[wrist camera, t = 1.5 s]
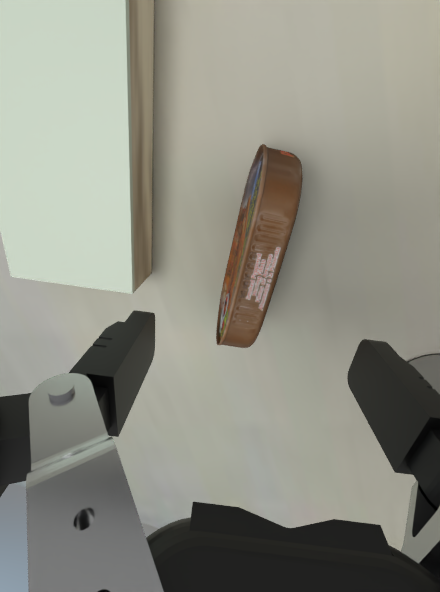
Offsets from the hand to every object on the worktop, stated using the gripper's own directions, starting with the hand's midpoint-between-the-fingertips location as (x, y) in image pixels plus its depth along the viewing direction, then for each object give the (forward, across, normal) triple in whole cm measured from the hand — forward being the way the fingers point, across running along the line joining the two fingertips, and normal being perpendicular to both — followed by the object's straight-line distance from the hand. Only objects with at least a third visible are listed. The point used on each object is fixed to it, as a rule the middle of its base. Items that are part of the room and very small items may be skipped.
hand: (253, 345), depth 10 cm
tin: (+15, 0, 0) cm, 15 cm away
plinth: (+15, +13, -8) cm, 22 cm away
